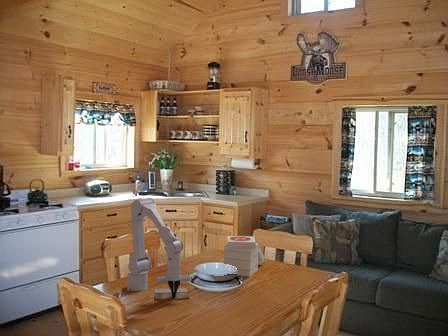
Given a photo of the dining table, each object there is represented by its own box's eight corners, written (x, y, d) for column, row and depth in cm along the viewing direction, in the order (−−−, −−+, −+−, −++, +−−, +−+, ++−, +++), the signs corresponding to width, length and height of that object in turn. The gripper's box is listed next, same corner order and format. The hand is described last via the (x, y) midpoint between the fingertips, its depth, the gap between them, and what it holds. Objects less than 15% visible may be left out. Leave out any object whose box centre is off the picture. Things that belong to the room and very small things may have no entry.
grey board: (154, 296, 218) (154, 293, 218) (154, 292, 224) (154, 288, 224) (187, 295, 220) (187, 292, 220) (186, 291, 226) (186, 288, 226)
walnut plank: (155, 302, 209) (155, 298, 209) (154, 296, 217) (154, 293, 217) (189, 301, 211) (189, 297, 211) (187, 295, 220) (187, 292, 220)
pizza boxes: (267, 264, 277) (268, 233, 276) (252, 278, 249) (253, 244, 248) (236, 260, 284) (237, 230, 282) (218, 273, 256) (218, 240, 254)
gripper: (157, 270, 206) (157, 300, 207) (191, 269, 208) (190, 299, 209) (157, 265, 213) (157, 295, 214) (189, 264, 215) (189, 294, 216)
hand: (173, 297), depth 212 cm, fingers closed, pressing on walnut plank
